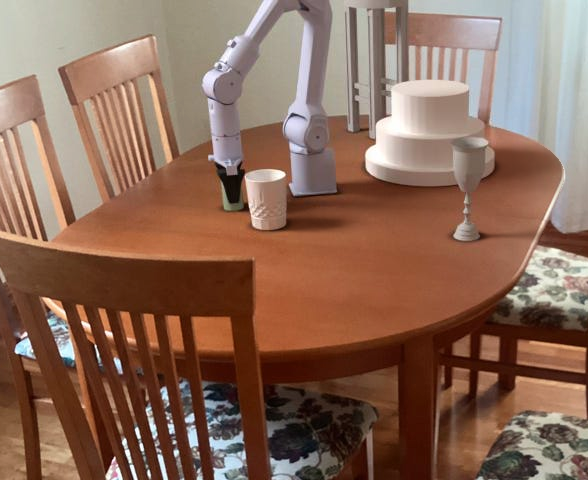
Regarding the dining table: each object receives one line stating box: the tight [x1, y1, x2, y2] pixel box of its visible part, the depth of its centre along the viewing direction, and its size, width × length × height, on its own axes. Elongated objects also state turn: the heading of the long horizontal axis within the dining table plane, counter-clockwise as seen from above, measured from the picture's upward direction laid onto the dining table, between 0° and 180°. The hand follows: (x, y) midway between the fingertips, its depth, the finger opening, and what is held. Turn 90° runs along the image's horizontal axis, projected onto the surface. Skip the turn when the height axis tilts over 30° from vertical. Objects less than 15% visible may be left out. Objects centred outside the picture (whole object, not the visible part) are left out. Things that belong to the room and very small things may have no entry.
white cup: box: [244, 168, 287, 231], centre depth 180 cm, size 8×8×10 cm
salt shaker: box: [220, 180, 245, 212], centre depth 189 cm, size 4×4×8 cm
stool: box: [343, 0, 410, 140], centre depth 232 cm, size 16×16×35 cm
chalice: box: [451, 137, 490, 242], centre depth 172 cm, size 7×7×18 cm
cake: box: [364, 79, 496, 187], centre depth 210 cm, size 30×30×18 cm
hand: (232, 199), depth 190 cm, fingers closed on salt shaker, 4 cm apart
